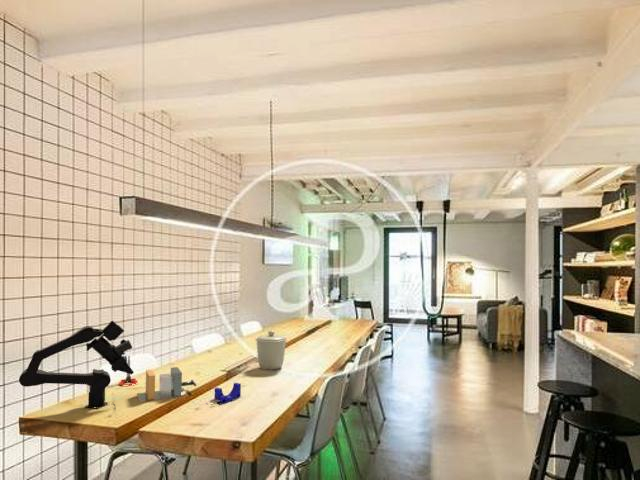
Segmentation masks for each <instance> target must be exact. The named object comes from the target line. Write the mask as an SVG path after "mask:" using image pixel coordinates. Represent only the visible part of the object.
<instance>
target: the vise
mask: <svg viewBox="0 0 640 480" xmlns="http://www.w3.org/2000/svg"><path fill="white" fill-rule="evenodd" d="M170 376H171V396H165V397H161V395H160V393H159V390H155V399H152V400H151V401H156V400H164V399H171V398H172V399H173V398H174V399H175V398H180V397H188V396H189V394H188V392H187V393H186V394H184V395H181V392H183V391H186V390H185V388H184V387H185V386H186V387H188V386H194V387H197V383H196V382H195V381H194V380H193V379H191V380H190V381H183V372H182V371H181V370H180V369H179V367H178V366H177V367H176V366H175V367H170ZM136 394H137V397H138V398H137V399H138V401H139V402H150V400H148V398H147V395H146V391H145V392H137V393H136Z"/></svg>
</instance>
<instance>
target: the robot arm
mask: <svg viewBox="0 0 640 480" xmlns="http://www.w3.org/2000/svg"><path fill="white" fill-rule="evenodd" d="M123 333H125V330H124V329H123V328H122V327H121V326H120V325H119V324H117V323H116V322H115V321H114V320H111V321H110V322H108V324H107V325H106V326H105V327H104V328H103V329H102V328H94V327H93V326H90V325H86V326H83V327H81V328H80V329H79V330H76V331H75V332H74V333H73V334H71V335H69V336H68V337H65V338H64V339H61V340H59V341H57V342H54V343H52V344H50V345H49V346H46V347H43V348H41V349H38V350H36V351H34V352H33V354H32V356H31V357H32V358H31V360H30V361H29V364H28V366H27V368H26V369H24V370H23V371H22V372H21V374H20V375H19V378H18V382H19V384H20V385H21V387H22V386H23V387H34V386H40V385H41V386H42V385H44V384H52V385H53V384H56V385H57V384H58V385H59V384H61V385H62V384H63V385H85V386H88V387H89V388H88V389H89V391H88V399H87V400H88V402H87V404H86V405H84V408H85V407H101V406H103V405H104V406H106V405H108V404H109V402H108V401H107V402H106V388H107V387H108V386H109V385H110V383H111V380H112V379H111V375H110V373H109V372H108V371H105V370H104V369H96V368H93V369H92V372H88V373H76V372H75V373H73V372H54V371H53V372H50V371H46V370H43V369H39V367H40V366H41V363H42V361H43V360H45V359H47V358H49V357H51V356H53V355H56V354H58V353H60V352H62V351H65V350H67V349H69V348H71V347H73V346H77V345H82V344H85V343H86V352H87V351H88V352H89V351H90V350H91V349H93V350H94V351H95V352H96V353H97V354H99V355H100V356H101V358H102V359H105V360H106V362H108V364H109V365H110V366H111V367H110V369H111V370H112V371H113V372H114V373H116V372H117V371H119V372H123V373H126V374H127V373H129V374H130V375H133V374H134V371H133V369H132V367H131V365H130V366H129V365H128V357H127V355H125V354H126V353H125V352H127V351H128V350H132V349H133V345H132V344H131V342H130V340H129V339H128V340H127V339H121V340H120V344H118V345H115V344H112V343H110V342H112V341H115V340H117V339H118V337H120V336H121V335H122V334H123ZM104 337H105V338H104ZM107 403H108V404H107ZM105 404H106V405H105ZM104 406H103V407H104ZM101 408H102V407H101Z"/></svg>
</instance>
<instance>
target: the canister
mask: <svg viewBox="0 0 640 480" xmlns="http://www.w3.org/2000/svg"><path fill="white" fill-rule="evenodd" d="M287 340H288V338H287V337H286V336H283V335H279V334H275V331H274V330H268V333H267V334H265V335H264V334H263V335H259V336H257V337H256V338H255V342H256V350H257V360H258V365H259V366H258V367H260V368H261V369H262V370H266V371H267V370H269V371H271V370H278V369H280V368H282V367H283V365H284V360H285V351H286V350H285V349H286V342H287Z"/></svg>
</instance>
